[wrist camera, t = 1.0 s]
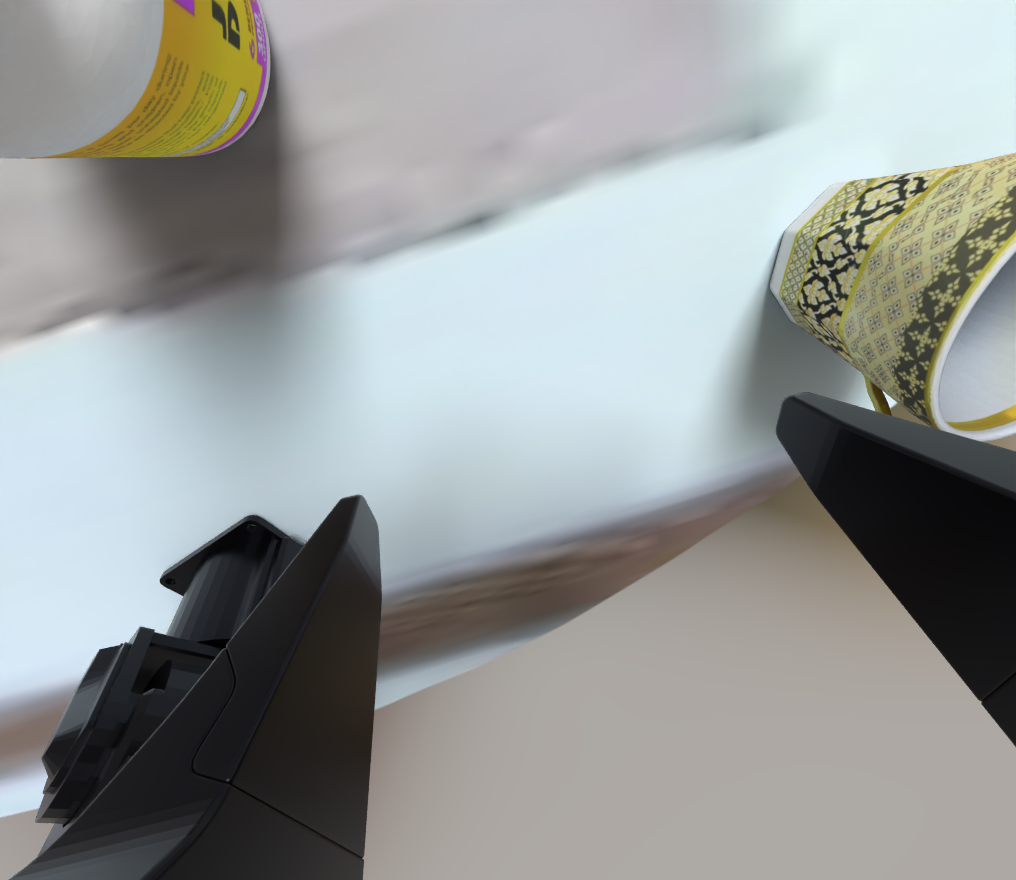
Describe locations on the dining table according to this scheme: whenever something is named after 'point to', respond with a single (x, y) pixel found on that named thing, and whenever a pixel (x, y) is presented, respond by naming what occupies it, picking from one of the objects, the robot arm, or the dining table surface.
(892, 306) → the ceramic cup
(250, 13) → the supplement bottle
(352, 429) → the dining table surface
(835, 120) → the dining table surface
